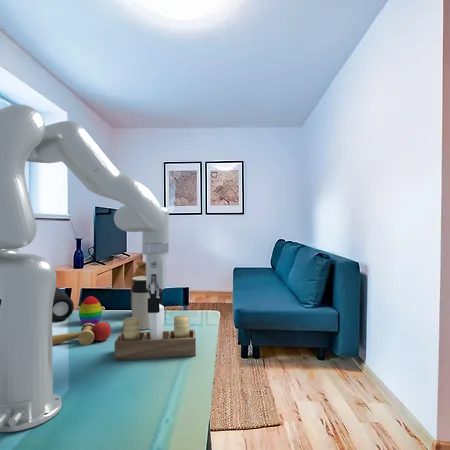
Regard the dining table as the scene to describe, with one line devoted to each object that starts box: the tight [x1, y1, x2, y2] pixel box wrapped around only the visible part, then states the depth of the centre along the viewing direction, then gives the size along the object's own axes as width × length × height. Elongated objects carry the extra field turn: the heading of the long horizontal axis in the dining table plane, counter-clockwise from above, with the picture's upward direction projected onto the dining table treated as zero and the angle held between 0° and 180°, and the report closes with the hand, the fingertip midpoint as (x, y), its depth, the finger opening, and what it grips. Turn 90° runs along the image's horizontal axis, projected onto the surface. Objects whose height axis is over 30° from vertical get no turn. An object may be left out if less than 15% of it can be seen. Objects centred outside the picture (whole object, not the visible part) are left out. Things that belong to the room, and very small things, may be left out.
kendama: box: [52, 321, 112, 346], centre depth 109 cm, size 8×6×18 cm
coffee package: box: [130, 260, 146, 309], centre depth 140 cm, size 10×12×22 cm
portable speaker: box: [52, 287, 75, 322], centre depth 142 cm, size 26×10×10 cm, turn 33°
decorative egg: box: [78, 295, 103, 325], centre depth 130 cm, size 8×8×10 cm
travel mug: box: [131, 276, 150, 331], centre depth 124 cm, size 8×8×18 cm
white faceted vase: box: [148, 297, 165, 339], centre depth 99 cm, size 5×4×15 cm
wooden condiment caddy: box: [114, 314, 197, 361], centre depth 99 cm, size 8×22×10 cm, turn 96°
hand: (155, 308), depth 98 cm, fingers open, 9 cm apart
